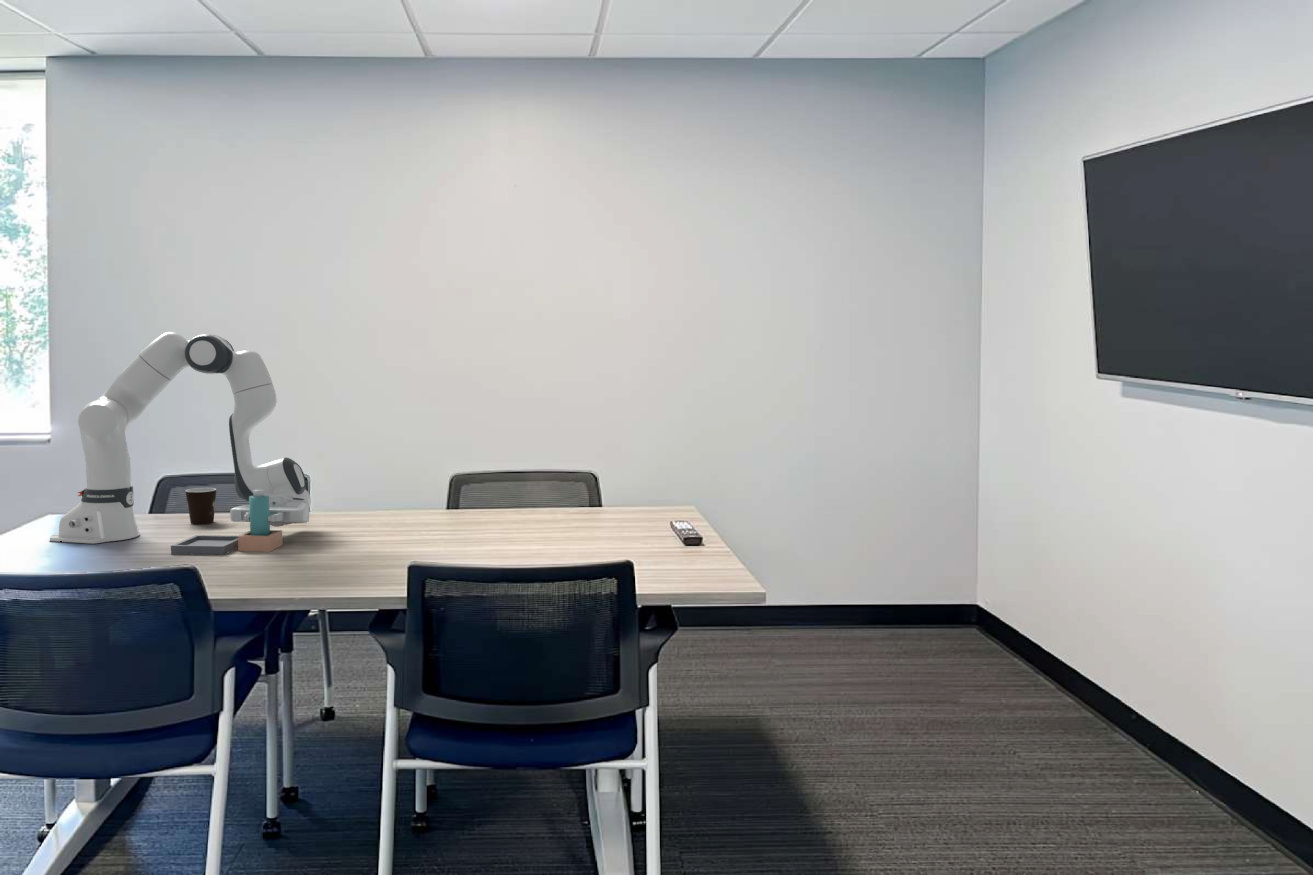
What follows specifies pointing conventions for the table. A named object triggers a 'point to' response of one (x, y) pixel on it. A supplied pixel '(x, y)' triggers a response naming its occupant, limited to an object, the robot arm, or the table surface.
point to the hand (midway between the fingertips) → (258, 519)
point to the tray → (206, 545)
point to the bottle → (259, 513)
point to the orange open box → (260, 541)
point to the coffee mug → (201, 505)
